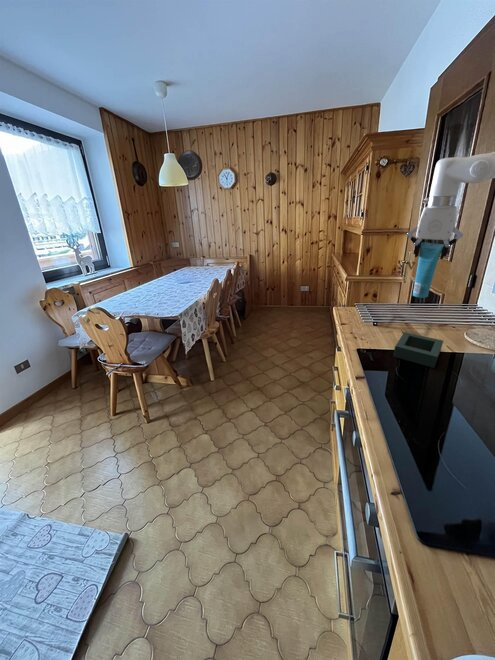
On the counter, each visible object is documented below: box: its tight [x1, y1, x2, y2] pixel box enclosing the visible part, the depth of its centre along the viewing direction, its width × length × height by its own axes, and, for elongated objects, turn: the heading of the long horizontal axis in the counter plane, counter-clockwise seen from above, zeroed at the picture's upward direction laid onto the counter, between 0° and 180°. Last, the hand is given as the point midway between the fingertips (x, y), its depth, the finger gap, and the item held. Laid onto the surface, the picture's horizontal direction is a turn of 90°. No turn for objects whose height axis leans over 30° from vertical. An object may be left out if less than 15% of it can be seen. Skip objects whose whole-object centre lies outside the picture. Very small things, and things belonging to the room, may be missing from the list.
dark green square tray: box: [392, 331, 444, 369], centre depth 98 cm, size 12×12×5 cm
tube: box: [412, 241, 445, 299], centre depth 101 cm, size 7×5×19 cm, turn 40°
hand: (428, 257), depth 99 cm, fingers closed on tube, 7 cm apart
